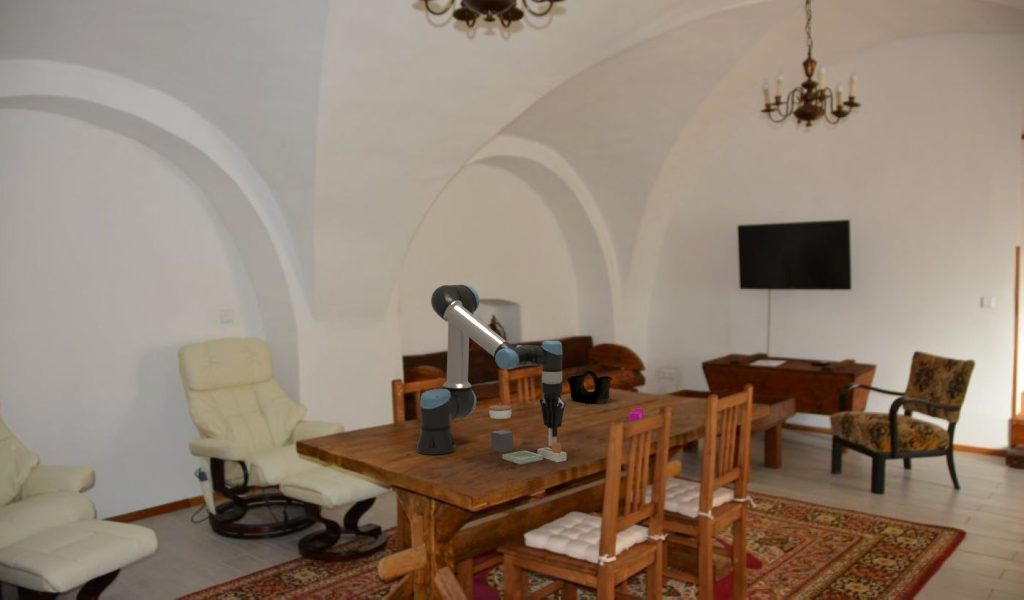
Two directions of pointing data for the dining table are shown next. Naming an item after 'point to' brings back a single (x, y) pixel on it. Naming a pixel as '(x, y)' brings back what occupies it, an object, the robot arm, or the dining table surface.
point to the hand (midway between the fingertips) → (552, 445)
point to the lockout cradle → (522, 457)
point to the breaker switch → (556, 447)
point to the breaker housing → (552, 454)
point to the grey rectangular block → (502, 441)
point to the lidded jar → (500, 411)
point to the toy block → (636, 414)
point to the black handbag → (586, 397)
